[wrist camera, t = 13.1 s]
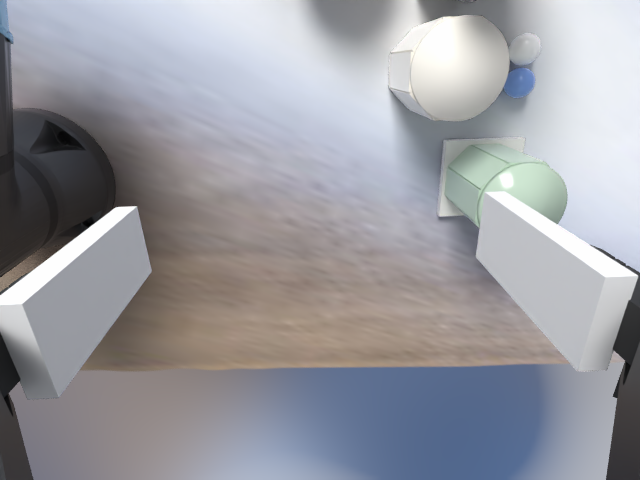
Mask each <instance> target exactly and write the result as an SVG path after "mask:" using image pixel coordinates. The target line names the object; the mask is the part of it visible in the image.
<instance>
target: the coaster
mask: <svg viewBox="0 0 640 480" xmlns="http://www.w3.org/2000/svg"><path fill="white" fill-rule="evenodd" d="M525 139H526V138H523V137H507V138H481V139H454V140H444V141H443V151H442V162H441V173H440V183H439V194H438V205H437V215H438V216H439V217H443V216H465V215H464V214H463V213H462V212H461V211H460V210H459V209H458V208H457V207H456V206H455V205H454V204H453V203H452V202H451V201H450V200H449V199H448V198H447V197H446V196H445V194H444V192H445V182H446V172H447V167H448V165H449V164H450V163H451V162H452V161H453V160H454V159H455V158H456V157H458V156H459V155H460V154H461V153H462V152H463V151H464V150H465V149H466V148H467V147H468V146H469V145H470V146H471V144H495V143H500V144H502V145H505V146H507V147H509V148H512V149H514V150H517V151H519V152H522V153H523V151H524V145H525Z"/></svg>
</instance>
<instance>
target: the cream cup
mask: <svg viewBox="0 0 640 480" xmlns="http://www.w3.org/2000/svg"><path fill="white" fill-rule="evenodd" d="M390 53H391V54H389V78H388V87H390V88H389V89H390V90H391V91H392V92H393V94H394V95H395V96H396V97H397V98H398V99H399V100H400V101H401V102H402V103H403V104H404V105H405V106H406V108H407V109H408V110H411V111H413V112H415V113H417V114H420V115H422V116H424V117H427V118H429V119H431V120H434V121H463V120H470V118H471V119H472V118H473V117H475V116H477V115H479V114H480V113H482V112H483V111H485V110H486V109H487V108H488V107H489V106H490V105H491V104H492V103H493V102H494V101H495V100H496V98H497V97H498V96H499V94H500V93H501V91H502V89H503V87H504V85H505V82H506V79H507V76H508V72H509V64H510V59H509V50H508V46H507V43H506V40H505V38H504V36H503V35H502V33H501V31H500V30H499V29H498V28H497V27H496V26H495V25H494V24H493V23H491V22H490V21H488V20H486V18H485V17H482V16H474V15H462V16H451V17H441V18H438V19H435V20H432V21H429V22H426V23H424V24H421V25H418V26H415V27H413V28H412V29H411V30H410V31H409V32H408V33H407V34H406V36H405V37H404V38H403V39H402V40H401V41H400V42H399V43H398V44H397V45H396V47H395V48H394V49H393V50H392V51H391V52H390Z"/></svg>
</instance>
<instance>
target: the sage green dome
mask: <svg viewBox="0 0 640 480" xmlns="http://www.w3.org/2000/svg"><path fill="white" fill-rule="evenodd" d="M499 191H505V192H507V193H508V194H510V195H511V196H513V197H515V198H516V199H518V200H519V201H521V202H522V203H524V204H526V205H527V206H529V207H530V208H532V209H534V210H535V211H537V212H538V213H540V214H541V215H543V216H545V217H546V218H548V219H549V220H551V221H553V222H554V223H556V224H558V223H559V221H560V220H561V218H562V216H563V214H564V211H565V208H566V205H567V189H566V185H565V183H564V181H563V179H562V178H561V176H560V175H559V174H558V173H557V172H556V171H554V170H553V169H551V168H550V167H549V166H548V164H547V163H546V162H544V161H542V160H539V159H537V158H534V157H532V156H529V155H527V154H524V153H522V152H519V151H517V150H514V149H512V148H509V147H507V146H505V145H502V144H500V143H495V144H471V146H470V145H469V146H468V147H467V148H466V149H465V150H464V151H463V152H462V153H461V154H460V155H459V156H458V157H456V158H455V159H454V160H453V161H452V162H451V163H450V164H449V165H448V167H447V172H446V182H445V192H444V194H445V196H446V197H447V198H448V199H449V200H450V201H451V202H452V203H453V204H454V205H455V206H456V207H457V208H458V209H459V210H460V211H461V212H462V213H463V214H464V215H465V216H466V217H467V218H468V219H469V220H470V221H471V222H472V223H473V224H475V225H476V226H477V227H478V228H479V229H480V222H481V215H482V208H483V201H484V194H485V192H499Z"/></svg>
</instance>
